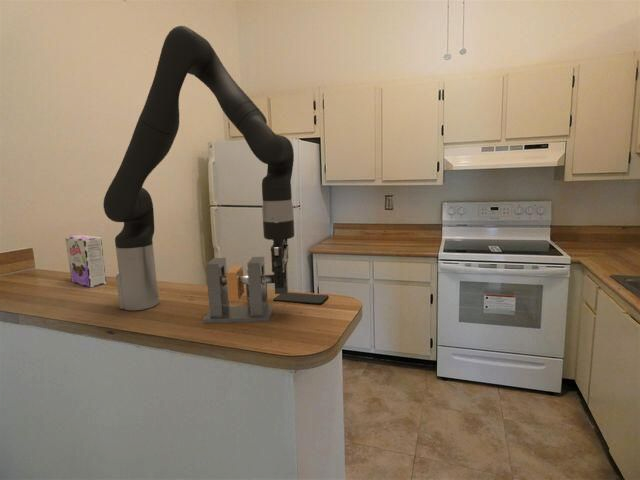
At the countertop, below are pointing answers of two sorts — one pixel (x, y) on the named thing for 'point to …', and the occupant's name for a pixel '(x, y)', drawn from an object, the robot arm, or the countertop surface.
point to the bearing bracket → (219, 294)
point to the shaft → (264, 280)
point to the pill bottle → (248, 291)
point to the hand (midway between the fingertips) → (281, 282)
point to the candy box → (86, 260)
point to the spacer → (234, 283)
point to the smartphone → (302, 298)
